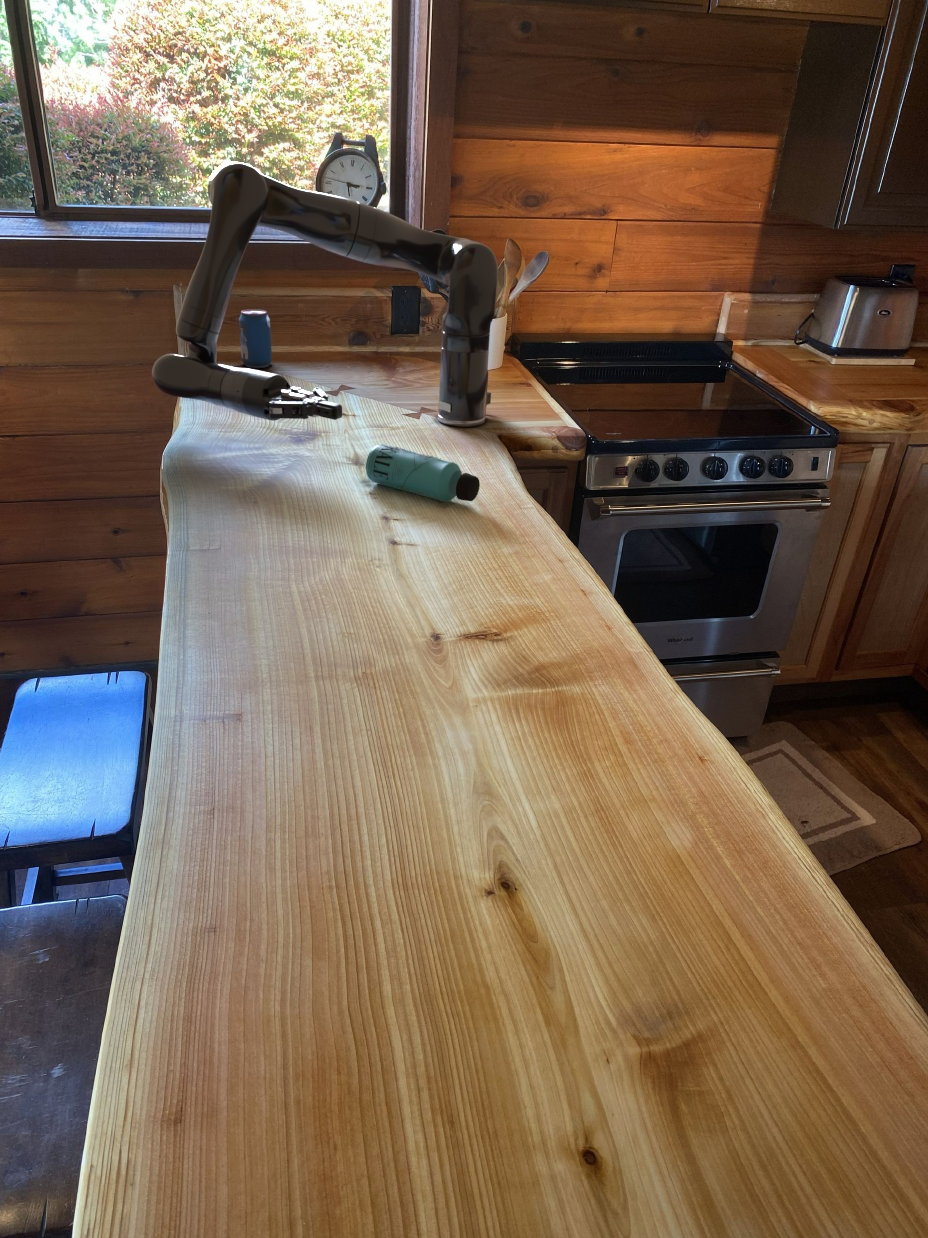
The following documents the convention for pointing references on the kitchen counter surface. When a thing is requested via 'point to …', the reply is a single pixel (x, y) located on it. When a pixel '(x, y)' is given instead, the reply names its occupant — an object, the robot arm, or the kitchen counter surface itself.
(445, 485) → the beverage bottle
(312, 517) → the kitchen counter surface
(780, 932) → the kitchen counter surface
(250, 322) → the soda can
